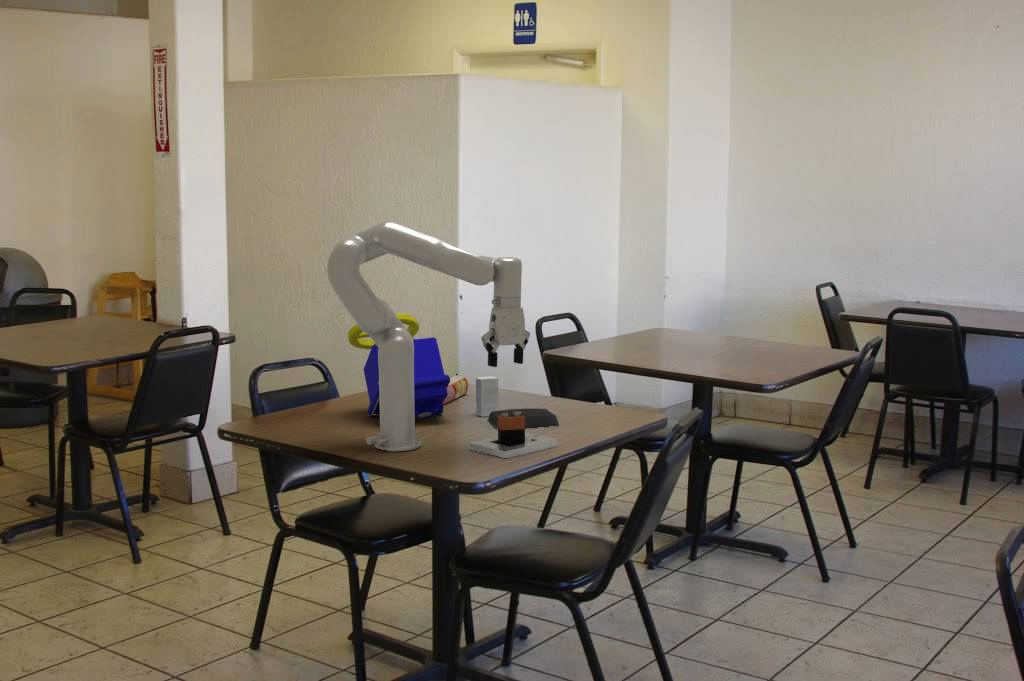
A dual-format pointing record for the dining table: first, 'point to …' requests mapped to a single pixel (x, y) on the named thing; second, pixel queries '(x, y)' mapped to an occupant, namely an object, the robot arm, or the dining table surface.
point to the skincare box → (486, 395)
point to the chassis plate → (503, 451)
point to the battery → (511, 429)
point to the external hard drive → (528, 417)
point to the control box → (426, 371)
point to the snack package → (456, 388)
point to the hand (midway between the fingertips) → (505, 364)
